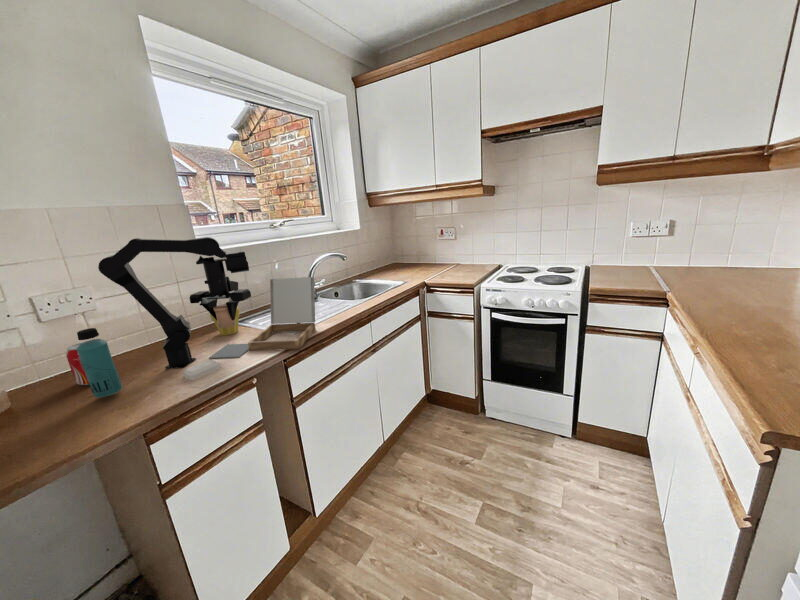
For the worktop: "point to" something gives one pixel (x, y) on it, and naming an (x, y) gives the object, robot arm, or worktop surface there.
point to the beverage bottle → (98, 364)
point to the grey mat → (231, 351)
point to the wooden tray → (260, 344)
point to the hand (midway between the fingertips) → (225, 320)
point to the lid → (292, 300)
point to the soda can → (76, 365)
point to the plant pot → (230, 329)
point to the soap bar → (201, 369)
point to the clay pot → (223, 316)
